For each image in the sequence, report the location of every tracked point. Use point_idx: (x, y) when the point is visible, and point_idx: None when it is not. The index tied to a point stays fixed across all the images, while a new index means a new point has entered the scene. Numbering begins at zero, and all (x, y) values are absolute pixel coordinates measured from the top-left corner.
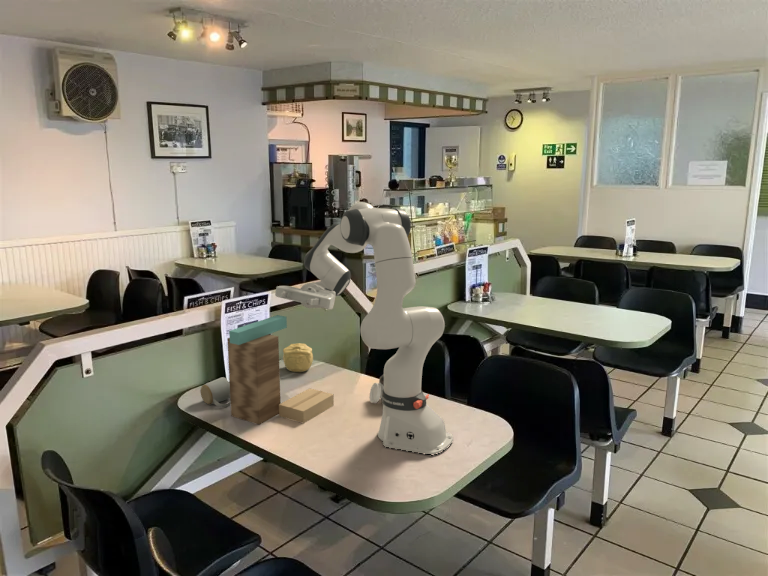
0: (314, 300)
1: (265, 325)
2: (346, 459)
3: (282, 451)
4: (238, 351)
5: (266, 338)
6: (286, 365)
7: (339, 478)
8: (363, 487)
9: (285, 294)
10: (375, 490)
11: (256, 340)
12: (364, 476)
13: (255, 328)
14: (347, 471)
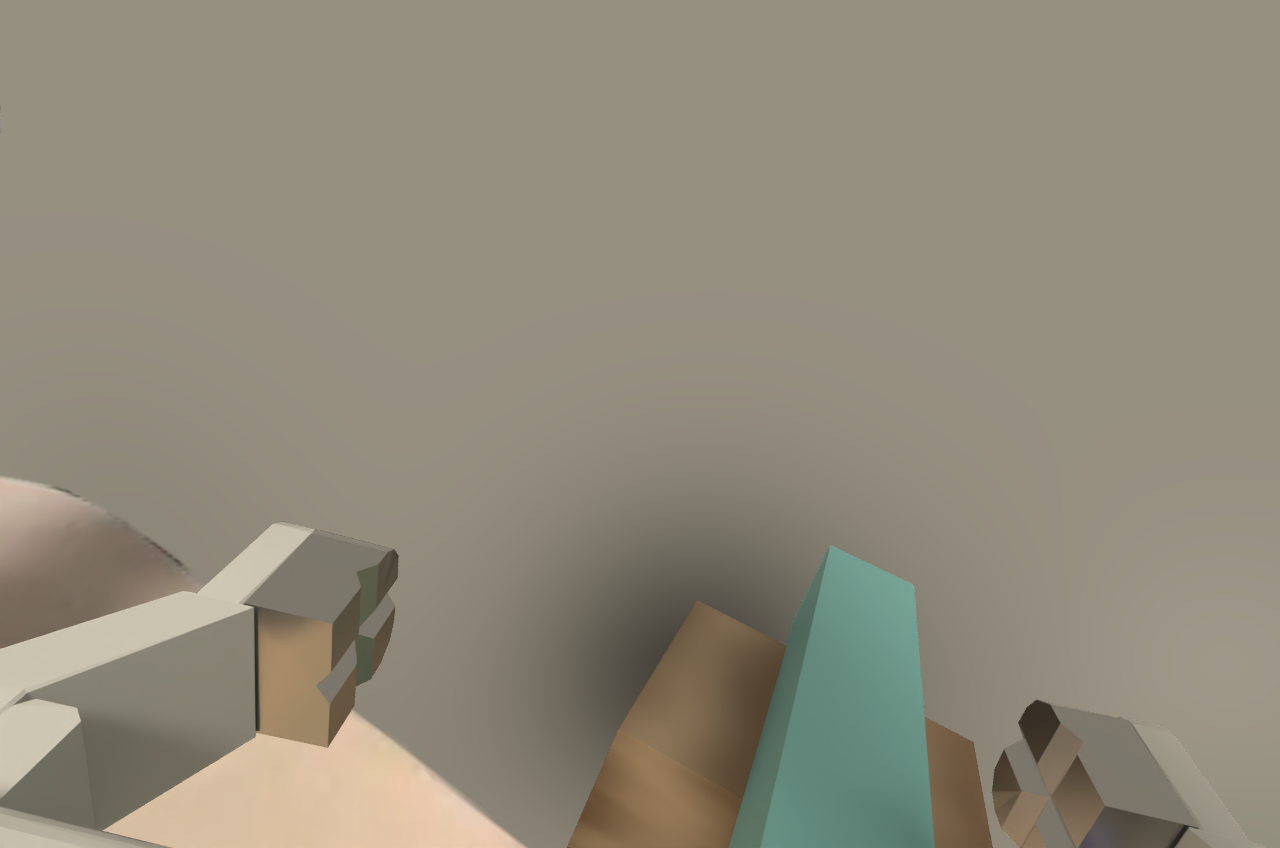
0: (149, 633)
1: (791, 688)
2: None
3: (363, 746)
4: None
5: (695, 693)
6: None
7: (168, 582)
8: (102, 538)
9: (1037, 716)
10: (68, 522)
11: (744, 665)
12: (68, 572)
13: (809, 621)
14: (122, 603)
